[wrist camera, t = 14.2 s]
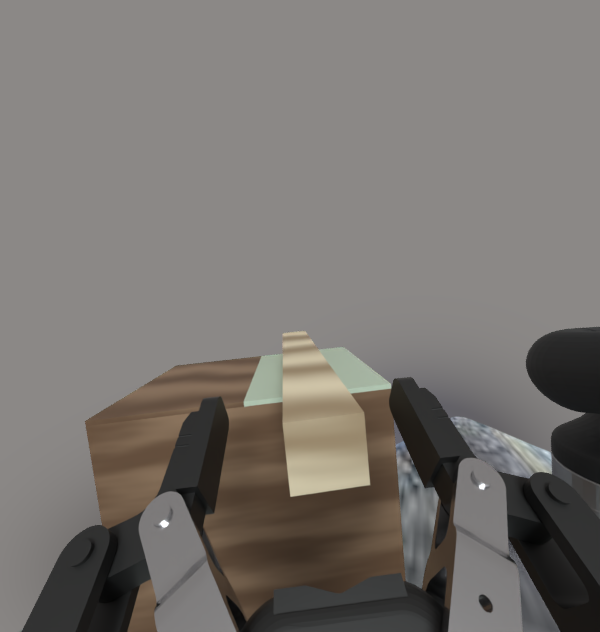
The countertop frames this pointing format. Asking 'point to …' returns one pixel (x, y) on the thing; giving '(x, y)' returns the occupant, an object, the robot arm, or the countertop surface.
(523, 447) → the countertop surface
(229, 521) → the walnut stand
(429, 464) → the robot arm
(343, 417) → the beech baton
